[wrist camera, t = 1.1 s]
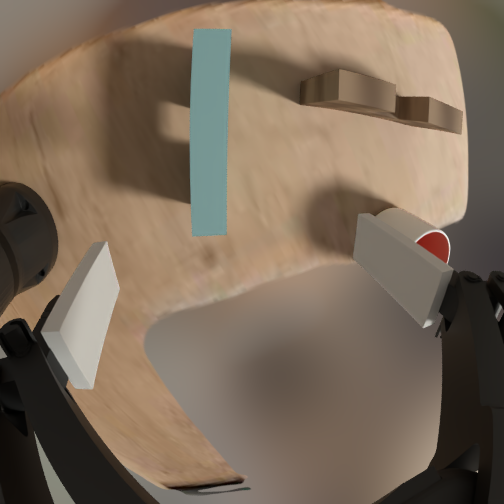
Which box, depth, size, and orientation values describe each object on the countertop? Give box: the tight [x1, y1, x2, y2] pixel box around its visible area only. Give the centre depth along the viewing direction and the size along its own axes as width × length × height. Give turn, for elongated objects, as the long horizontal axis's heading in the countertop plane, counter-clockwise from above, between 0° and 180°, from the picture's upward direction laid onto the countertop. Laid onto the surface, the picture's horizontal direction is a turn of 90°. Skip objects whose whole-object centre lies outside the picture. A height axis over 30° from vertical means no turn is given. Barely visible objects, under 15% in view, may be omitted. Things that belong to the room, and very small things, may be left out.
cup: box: [375, 208, 450, 264], centre depth 36 cm, size 10×10×10 cm
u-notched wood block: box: [300, 69, 463, 134], centre depth 27 cm, size 18×3×10 cm, turn 88°
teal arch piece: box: [190, 29, 232, 236], centre depth 25 cm, size 18×3×10 cm, turn 178°
